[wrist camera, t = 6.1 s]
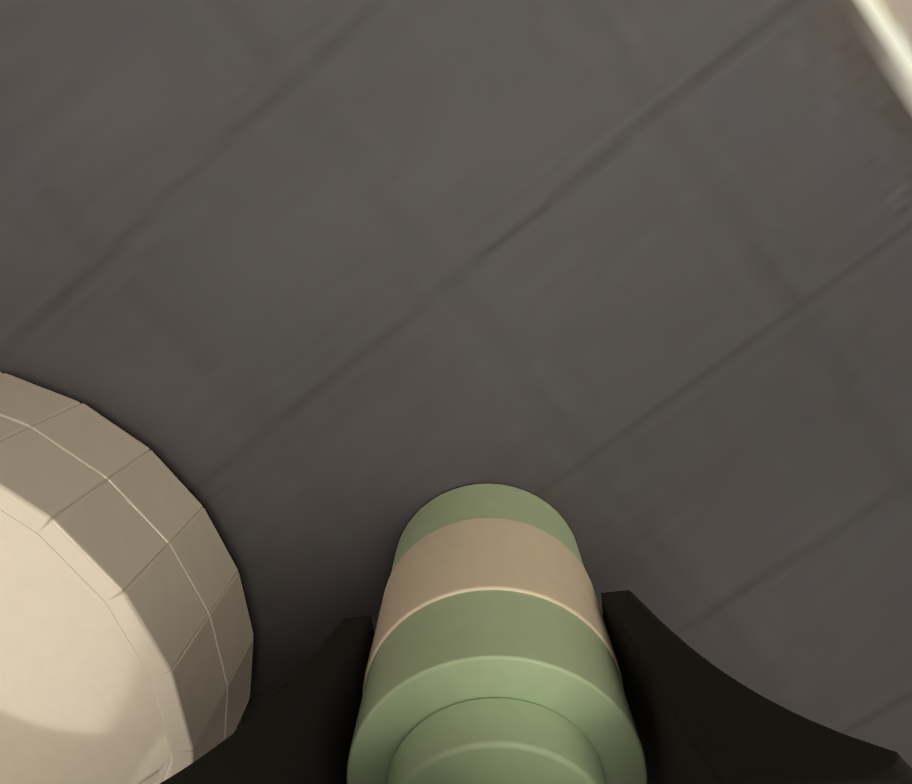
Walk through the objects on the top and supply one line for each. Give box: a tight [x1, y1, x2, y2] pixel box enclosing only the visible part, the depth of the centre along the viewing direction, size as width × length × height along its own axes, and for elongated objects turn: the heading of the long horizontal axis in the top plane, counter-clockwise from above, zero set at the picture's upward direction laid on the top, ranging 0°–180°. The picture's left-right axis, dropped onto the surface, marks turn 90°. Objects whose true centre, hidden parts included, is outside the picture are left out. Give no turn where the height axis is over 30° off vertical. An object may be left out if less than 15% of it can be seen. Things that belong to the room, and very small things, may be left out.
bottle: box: [347, 484, 647, 784], centre depth 13 cm, size 5×5×10 cm
